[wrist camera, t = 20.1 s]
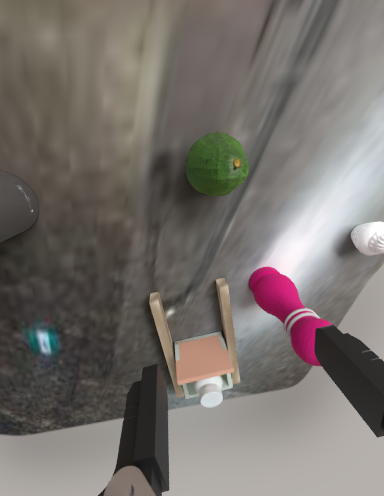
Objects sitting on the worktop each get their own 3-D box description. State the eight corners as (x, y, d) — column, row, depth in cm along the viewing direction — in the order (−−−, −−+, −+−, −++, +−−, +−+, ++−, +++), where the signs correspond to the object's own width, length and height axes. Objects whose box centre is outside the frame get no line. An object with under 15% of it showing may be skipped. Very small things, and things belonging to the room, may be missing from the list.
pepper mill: (287, 268, 43) (381, 347, 24) (273, 299, 45) (349, 393, 27) (254, 260, 41) (327, 339, 23) (241, 293, 44) (298, 389, 25)
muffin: (336, 241, 42) (368, 255, 36) (356, 212, 40) (393, 221, 34) (359, 252, 44) (394, 267, 37) (379, 224, 42) (419, 235, 35)
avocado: (232, 190, 36) (262, 202, 25) (184, 192, 35) (194, 206, 24) (233, 135, 33) (268, 122, 22) (181, 137, 32) (190, 124, 21)
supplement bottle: (188, 348, 46) (194, 392, 37) (213, 343, 46) (225, 386, 37) (192, 366, 48) (198, 413, 39) (216, 361, 48) (227, 406, 39)
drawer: (184, 377, 50) (188, 421, 42) (174, 341, 46) (177, 381, 38) (226, 367, 50) (239, 408, 42) (221, 331, 46) (233, 368, 38)
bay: (176, 384, 51) (177, 397, 48) (150, 293, 41) (149, 303, 38) (236, 370, 51) (240, 382, 49) (223, 277, 42) (228, 286, 39)
